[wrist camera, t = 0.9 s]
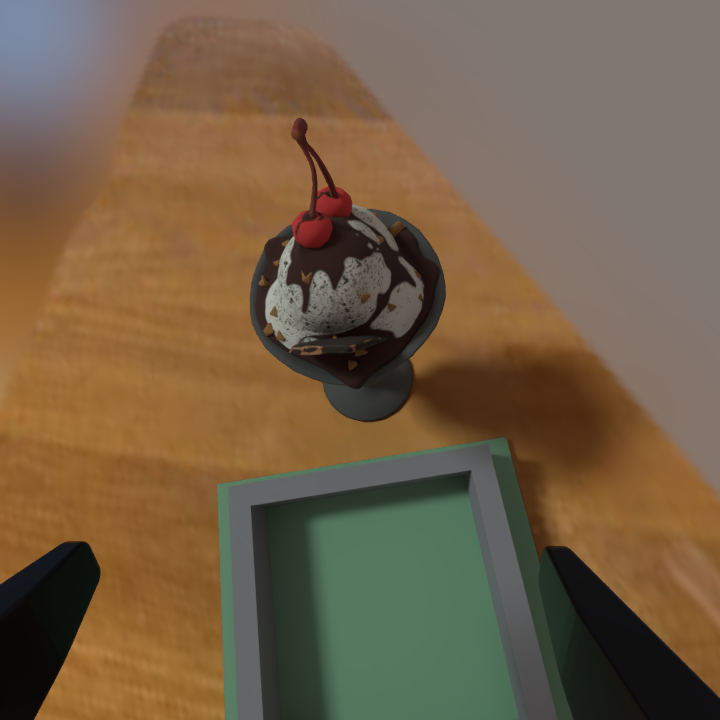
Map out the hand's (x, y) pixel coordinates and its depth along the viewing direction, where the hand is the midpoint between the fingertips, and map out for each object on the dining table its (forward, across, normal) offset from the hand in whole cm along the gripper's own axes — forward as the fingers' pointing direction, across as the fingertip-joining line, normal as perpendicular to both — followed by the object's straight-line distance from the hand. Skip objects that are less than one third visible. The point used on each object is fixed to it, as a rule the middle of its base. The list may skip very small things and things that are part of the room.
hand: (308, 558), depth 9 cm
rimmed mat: (+8, -1, +12) cm, 14 cm away
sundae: (+16, 0, +4) cm, 16 cm away
